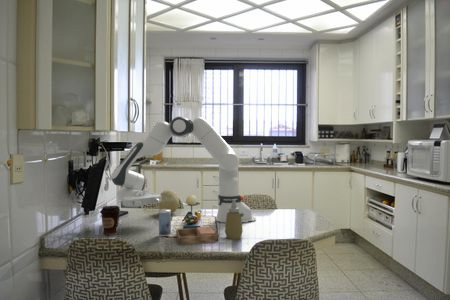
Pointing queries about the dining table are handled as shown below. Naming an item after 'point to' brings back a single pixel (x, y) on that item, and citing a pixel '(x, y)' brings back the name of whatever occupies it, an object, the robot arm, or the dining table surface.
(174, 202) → the fossilized egg
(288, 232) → the dining table surface
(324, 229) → the dining table surface
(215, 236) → the crate
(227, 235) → the squeeze bottle
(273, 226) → the dining table surface
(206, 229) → the pasta box
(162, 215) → the tin can
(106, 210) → the coffee cup
